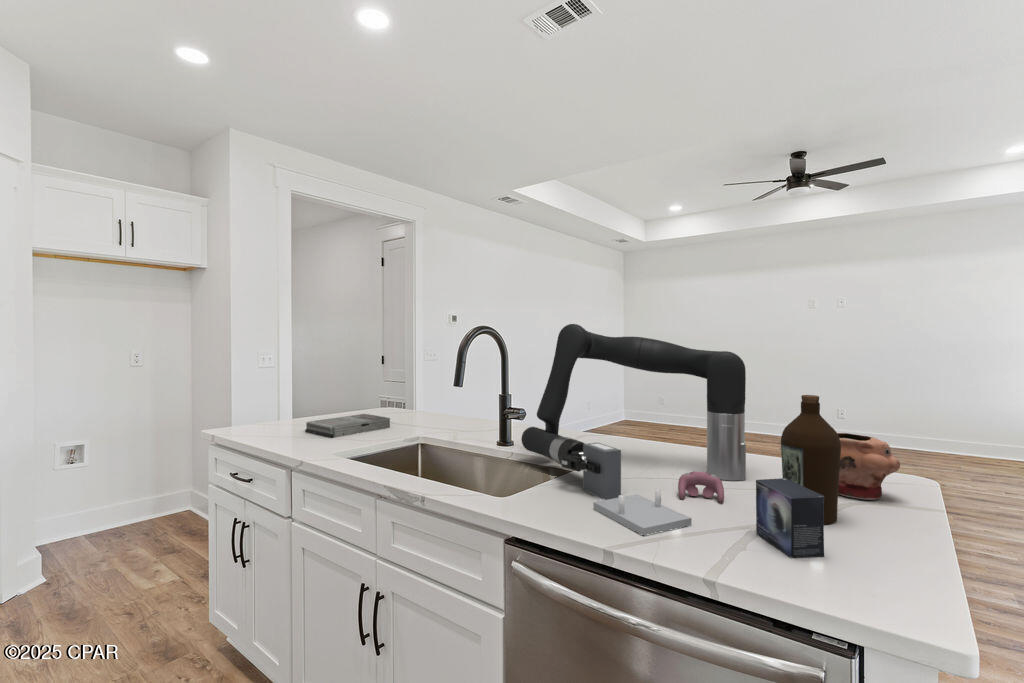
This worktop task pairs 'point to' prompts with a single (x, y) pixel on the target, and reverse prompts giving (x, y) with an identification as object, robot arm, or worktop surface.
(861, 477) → the decorative planter
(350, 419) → the hard drive
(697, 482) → the video game controller
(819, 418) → the olive oil
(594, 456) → the block
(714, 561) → the worktop surface
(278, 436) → the worktop surface
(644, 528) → the tray
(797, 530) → the small box
